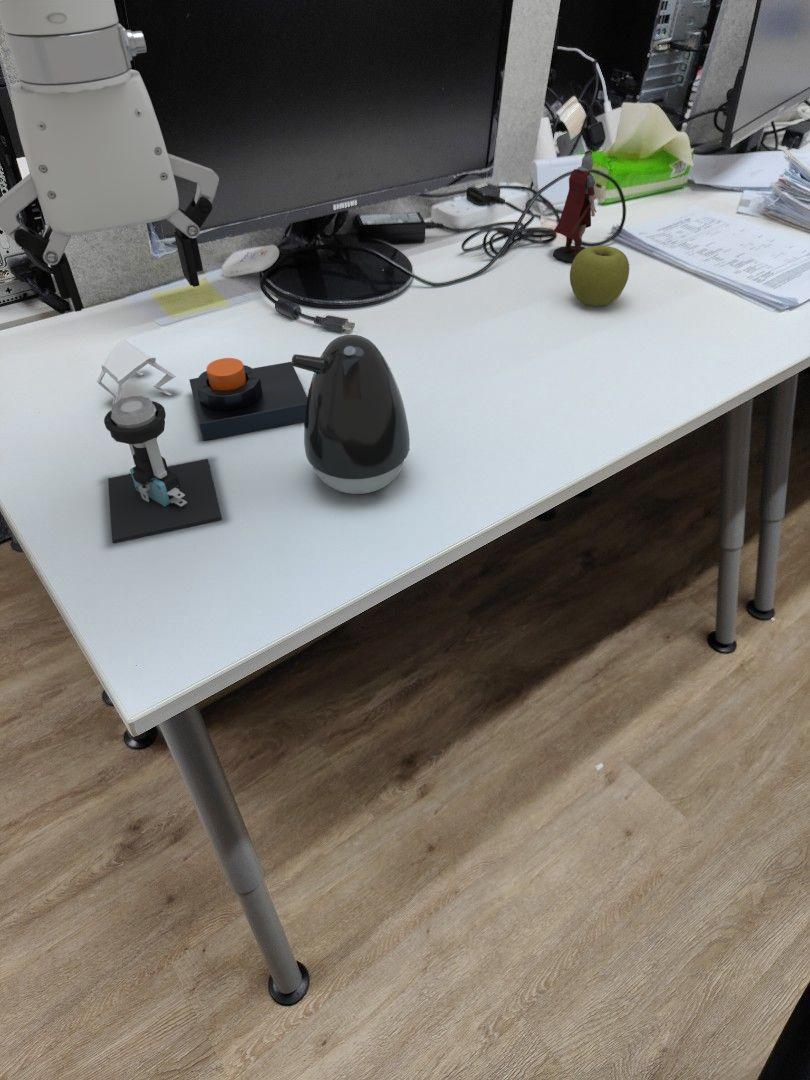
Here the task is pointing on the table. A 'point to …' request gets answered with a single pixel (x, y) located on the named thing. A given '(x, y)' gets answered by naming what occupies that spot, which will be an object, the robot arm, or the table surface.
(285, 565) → the table surface
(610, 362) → the table surface
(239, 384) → the orange short cylinder
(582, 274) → the apple
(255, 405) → the station
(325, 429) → the pump dispenser
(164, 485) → the push button
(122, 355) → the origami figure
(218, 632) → the table surface
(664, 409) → the table surface
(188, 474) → the pad
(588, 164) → the figurine
